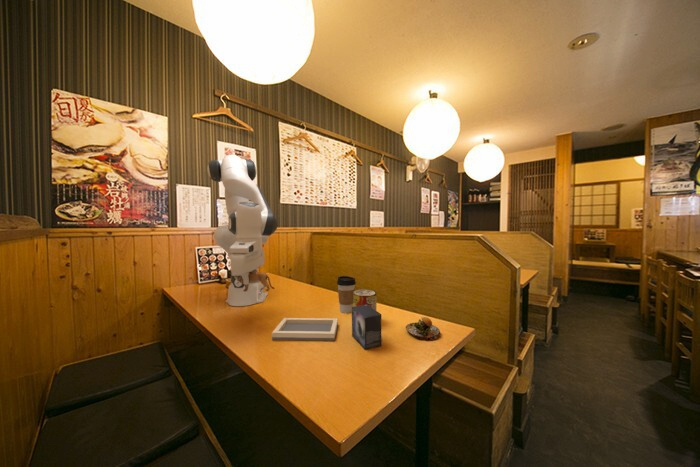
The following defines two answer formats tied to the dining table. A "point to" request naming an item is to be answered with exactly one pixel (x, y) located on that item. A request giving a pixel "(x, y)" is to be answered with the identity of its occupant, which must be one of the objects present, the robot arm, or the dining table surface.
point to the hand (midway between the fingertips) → (250, 282)
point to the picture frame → (306, 329)
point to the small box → (366, 326)
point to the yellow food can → (365, 298)
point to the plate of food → (424, 329)
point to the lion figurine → (256, 280)
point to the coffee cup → (346, 293)
